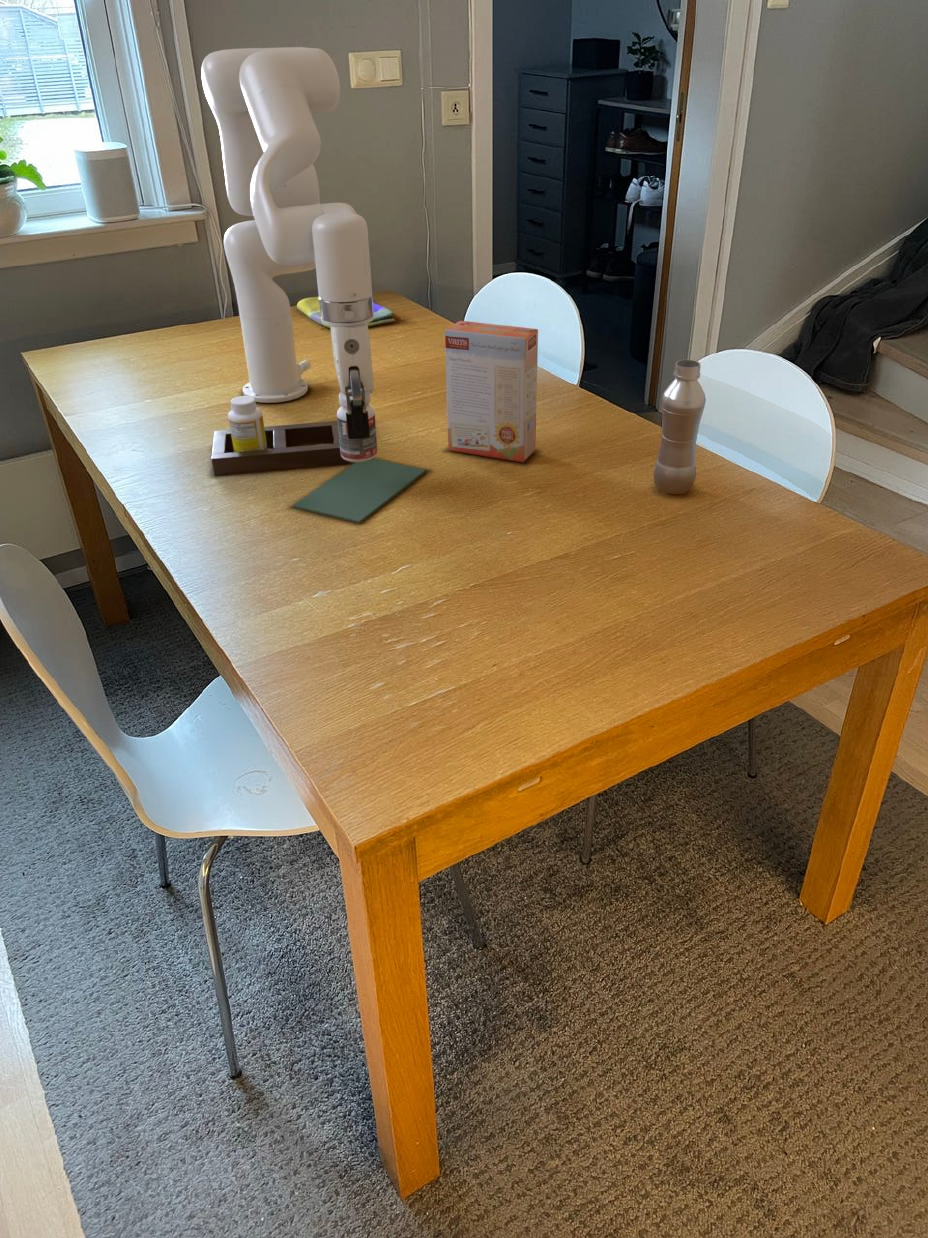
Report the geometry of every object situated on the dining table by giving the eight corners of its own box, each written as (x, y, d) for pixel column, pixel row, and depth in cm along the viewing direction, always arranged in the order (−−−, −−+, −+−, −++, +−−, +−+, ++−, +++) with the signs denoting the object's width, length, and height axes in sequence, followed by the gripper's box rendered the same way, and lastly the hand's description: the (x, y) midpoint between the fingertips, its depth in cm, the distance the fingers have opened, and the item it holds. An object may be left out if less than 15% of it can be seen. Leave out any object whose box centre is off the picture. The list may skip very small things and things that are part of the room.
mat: (364, 458, 156) (364, 456, 156) (426, 471, 151) (426, 469, 151) (293, 507, 142) (293, 505, 141) (359, 523, 137) (359, 521, 137)
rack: (217, 446, 161) (214, 430, 160) (343, 435, 164) (342, 419, 163) (214, 475, 151) (211, 458, 150) (349, 463, 154) (347, 447, 153)
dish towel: (328, 334, 214) (327, 322, 212) (294, 308, 232) (293, 297, 230) (398, 322, 220) (397, 311, 219) (359, 299, 238) (358, 287, 237)
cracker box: (536, 450, 158) (540, 327, 146) (523, 464, 153) (526, 338, 141) (461, 438, 163) (459, 317, 151) (447, 451, 158) (443, 327, 146)
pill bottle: (371, 464, 141) (366, 402, 135) (335, 462, 142) (329, 399, 136) (382, 449, 145) (377, 388, 140) (347, 447, 146) (341, 386, 141)
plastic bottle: (696, 483, 146) (713, 358, 135) (690, 501, 141) (708, 373, 130) (655, 477, 148) (669, 354, 137) (648, 496, 143) (661, 369, 132)
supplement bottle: (254, 448, 160) (245, 391, 155) (275, 456, 157) (267, 398, 152) (228, 458, 157) (218, 400, 151) (249, 467, 154) (240, 408, 148)
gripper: (379, 324, 124) (387, 449, 134) (367, 291, 138) (375, 407, 149) (323, 328, 123) (336, 454, 133) (317, 294, 137) (328, 411, 147)
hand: (356, 428), depth 141 cm, fingers closed on pill bottle, 5 cm apart
